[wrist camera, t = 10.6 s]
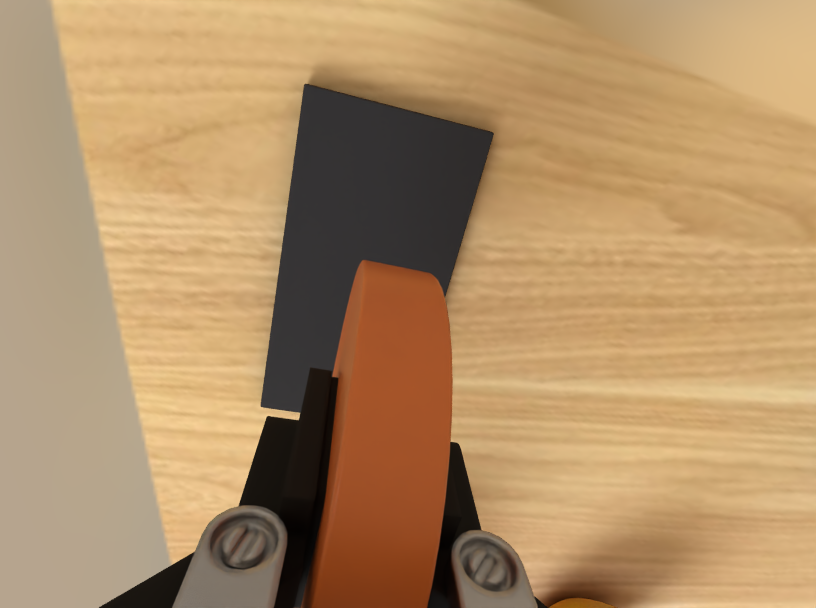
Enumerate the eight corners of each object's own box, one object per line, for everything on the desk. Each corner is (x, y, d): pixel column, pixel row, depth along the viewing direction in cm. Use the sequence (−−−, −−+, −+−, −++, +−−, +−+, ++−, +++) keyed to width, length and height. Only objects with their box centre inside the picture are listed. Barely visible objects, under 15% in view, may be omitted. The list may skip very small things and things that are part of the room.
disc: (365, 214, 13) (357, 429, 5) (421, 226, 13) (503, 449, 5) (315, 460, 16) (260, 825, 8) (359, 465, 17) (349, 825, 9)
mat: (306, 83, 17) (304, 83, 16) (490, 131, 18) (494, 132, 17) (262, 399, 22) (260, 407, 22) (405, 420, 23) (406, 428, 23)
